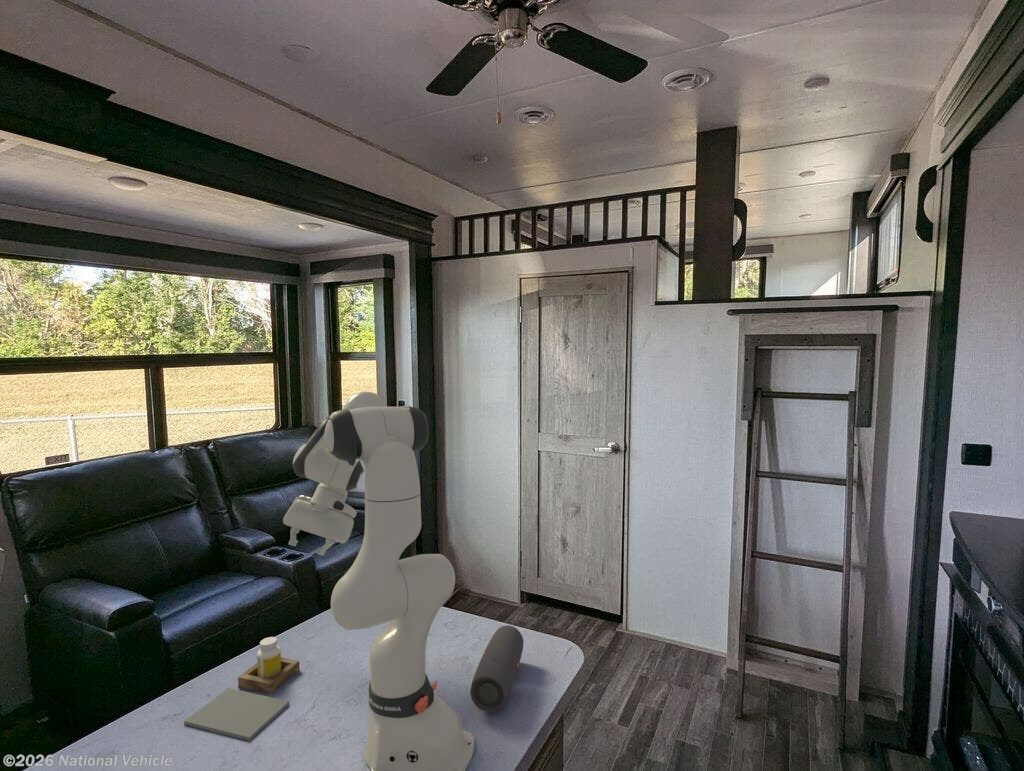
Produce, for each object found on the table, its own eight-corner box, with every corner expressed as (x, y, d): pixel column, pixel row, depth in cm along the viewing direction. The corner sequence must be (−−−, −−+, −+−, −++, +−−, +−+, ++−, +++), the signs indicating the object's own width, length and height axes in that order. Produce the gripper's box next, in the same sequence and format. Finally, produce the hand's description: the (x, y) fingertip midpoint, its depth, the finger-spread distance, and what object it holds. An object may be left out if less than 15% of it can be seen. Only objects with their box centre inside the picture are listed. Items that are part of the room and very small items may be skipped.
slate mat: (289, 704, 120) (289, 701, 120) (249, 740, 108) (249, 737, 108) (228, 691, 125) (228, 688, 125) (184, 724, 114) (184, 721, 114)
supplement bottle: (286, 673, 132) (284, 636, 132) (270, 686, 127) (269, 648, 126) (268, 670, 133) (267, 634, 133) (252, 683, 128) (251, 645, 128)
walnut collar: (299, 670, 133) (299, 660, 133) (271, 694, 124) (270, 683, 124) (268, 664, 136) (268, 654, 136) (238, 686, 127) (237, 677, 127)
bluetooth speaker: (508, 720, 114) (508, 676, 113) (468, 715, 116) (467, 672, 115) (526, 661, 136) (525, 624, 136) (492, 658, 138) (491, 621, 137)
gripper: (292, 490, 147) (268, 537, 142) (352, 508, 141) (330, 558, 136) (303, 496, 153) (281, 542, 147) (362, 513, 147) (341, 562, 141)
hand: (305, 550), depth 141 cm, fingers open, 8 cm apart
